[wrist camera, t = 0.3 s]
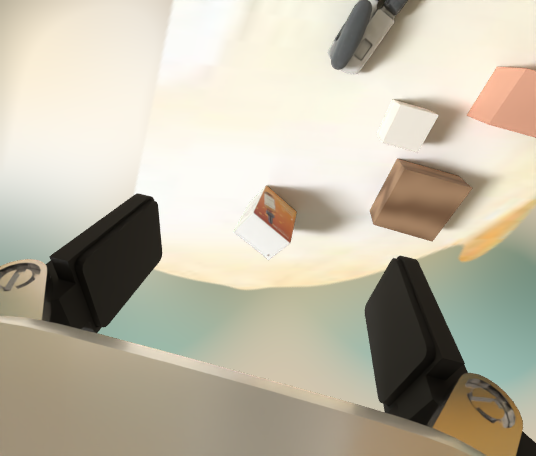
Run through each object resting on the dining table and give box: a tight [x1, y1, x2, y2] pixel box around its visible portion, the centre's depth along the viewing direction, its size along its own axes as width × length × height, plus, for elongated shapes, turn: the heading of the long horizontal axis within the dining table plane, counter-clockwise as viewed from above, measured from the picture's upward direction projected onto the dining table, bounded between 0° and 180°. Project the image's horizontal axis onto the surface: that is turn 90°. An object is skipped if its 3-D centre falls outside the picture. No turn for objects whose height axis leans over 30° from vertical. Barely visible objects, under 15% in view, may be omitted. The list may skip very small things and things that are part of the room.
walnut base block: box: [370, 159, 472, 241], centre depth 42 cm, size 10×10×5 cm
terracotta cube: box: [467, 67, 536, 137], centre depth 33 cm, size 6×6×6 cm
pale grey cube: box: [377, 99, 439, 153], centre depth 37 cm, size 5×5×5 cm
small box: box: [233, 186, 297, 260], centre depth 46 cm, size 8×6×10 cm
